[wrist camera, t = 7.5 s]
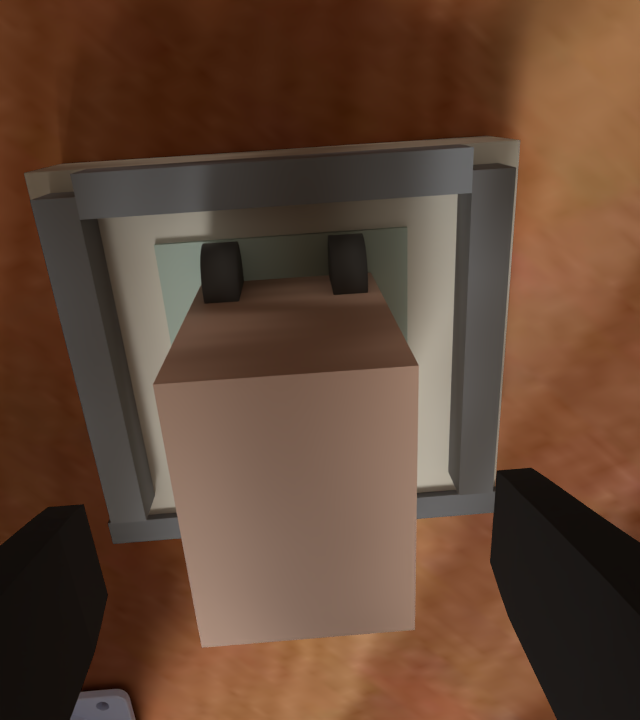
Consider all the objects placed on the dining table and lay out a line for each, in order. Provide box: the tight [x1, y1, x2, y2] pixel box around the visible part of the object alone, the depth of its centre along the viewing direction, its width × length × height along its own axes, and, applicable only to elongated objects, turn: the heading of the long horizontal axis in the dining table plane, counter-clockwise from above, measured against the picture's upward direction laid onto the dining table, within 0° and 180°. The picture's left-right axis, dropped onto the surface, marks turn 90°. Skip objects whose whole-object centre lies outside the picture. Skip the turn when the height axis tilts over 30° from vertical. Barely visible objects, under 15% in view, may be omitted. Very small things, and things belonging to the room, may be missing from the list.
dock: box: [24, 136, 520, 544], centre depth 17 cm, size 12×11×4 cm
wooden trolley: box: [153, 233, 419, 648], centre depth 14 cm, size 4×8×6 cm, turn 3°
